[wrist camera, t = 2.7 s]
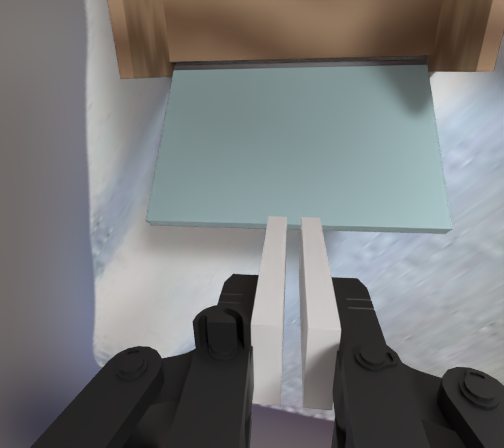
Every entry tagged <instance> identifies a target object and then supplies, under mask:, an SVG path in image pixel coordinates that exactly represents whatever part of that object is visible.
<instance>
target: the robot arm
mask: <svg viewBox="0 0 504 448" xmlns="http://www.w3.org/2000/svg"><path fill="white" fill-rule="evenodd" d="M286 234H287V217H279V216H269V217H268V223H267V229H266V235H265V241H264V247H263V253H262V259H261V265H260V271H259V275H243V274H233V275H232V276H231V277H230V278H228V279H227V280H226V281H225V282H224V285H223V288H222V291H221V294H220V298H219V302H218V304H217V305H215V306H212V307H209V308H206V309H204V310H203V311H201V312H200V313H199V314H197V316H196V317H195V319H194V320H193V329H194V337H195V346H196V348H195V349H194V350H192V351H190V352H188V353H185V354H181V355H178V356H172V357H167V358H162V359H161V356H160V355H159V353H158V352H157V351H156V350H154V349H152V348H150V347H143V346H137V347H133V348H128V349H126V350H124V351H122V352H120V353H118V354H116V355H115V356H114V357H113V358H112V359H110V360H109V361H108V362H107V363H106V364H105V366H104V367H103V368H102V369H101V370H100V371H99V372H98V373H97V374H96V376H95V377H94V378H93V379H92V380H91V381H90V382H89V383H88V384H87V385H86V387H85V388H84V389H83V390H82V391H81V392H80V393H79V394H78V395H77V396H76V398H75V399H74V400H73V401H72V402H71V403H70V404H69V405H68V406H67V408H66V409H65V410H64V411H63V412H62V413H61V414H60V415H59V416H58V417H57V419H56V420H55V421H54V422H53V423H52V424H51V425H50V426H49V427H48V429H47V430H46V431H45V432H44V433H43V434H42V435H41V436H40V437H39V438H38V440H37V441H36V442H35V443H34V444H33V445H32V446H31V447H30V448H250V437H251V424H252V419H251V408H252V400H253V403H254V404H265V405H277V406H281V387H282V358H283V330H284V301H285V272H286ZM299 294H300V326H301V359H302V391H303V408H312V409H324V410H332V405H333V402H334V410H335V422H334V430H333V439H332V447H331V448H504V385H502V384H501V383H500V382H499V381H498V380H497V379H495V378H493V377H491V376H489V375H487V374H486V373H484V372H481V371H478V370H475V369H472V368H466V367H456V368H452V369H449V370H447V372H446V373H445V374H444V375H443V377H442V378H440V377H436V376H433V375H430V374H427V373H424V372H421V371H418V370H415V369H413V368H410V367H409V366H407V365H405V364H404V363H402V362H401V360H400V358H399V356H398V355H397V353H396V352H395V351H393V350H392V349H391V348H390V347H389V346H387V345H386V342H385V339H384V336H383V333H382V330H381V328H380V325H379V322H378V319H377V316H376V313H375V310H374V307H373V304H372V301H371V298H370V295H369V292H368V290H367V288H366V287H365V286H364V285H363V284H362V283H361V282H360V281H359V280H358V279H357V278H334V277H331V273H330V267H329V262H328V257H327V251H326V246H325V241H324V235H323V230H322V225H321V219H320V218H319V217H301V237H300V259H299Z"/></svg>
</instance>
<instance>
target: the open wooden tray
mask: <svg viewBox="0 0 504 448" xmlns="http://www.w3.org/2000/svg"><path fill="white" fill-rule="evenodd" d="M108 6H109V12H110V18H111V24H112V30H113V36H114V42H115V48H116V54H117V60H118V66H119V72H120V78H121V79H132V78H154V77H173V72H174V70H175V65H174V62H199V61H239V60H279V59H319V58H359V57H399V56H427V58H426V65H427V66H428V71H441V72H485V71H494V67H495V63H496V59H497V55H498V51H499V48H500V44H501V40H502V36H503V32H504V0H108Z"/></svg>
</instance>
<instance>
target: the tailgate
mask: <svg viewBox="0 0 504 448" xmlns="http://www.w3.org/2000/svg"><path fill="white" fill-rule="evenodd" d="M269 216H279V217H287V229H297V230H301V217H319V218H320V219H321V225H322V230H331V231H365V232H400V233H434V234H446V233H447V232H449V231H450V230H452V223H451V217H450V210H449V204H448V197H447V191H446V184H445V178H444V171H443V164H442V158H441V151H440V145H439V138H438V132H437V125H436V119H435V112H434V105H433V99H432V92H431V86H430V79H429V73H428V66H427V65H426V60H425V59H424V60H382V61H340V62H298V63H256V64H214V65H176V66H175V70H174V72H173V77H172V82H171V88H170V93H169V99H168V104H167V109H166V115H165V120H164V125H163V131H162V136H161V142H160V147H159V152H158V158H157V163H156V168H155V174H154V179H153V185H152V190H151V195H150V201H149V206H148V211H147V217H146V221H147V222H148V223H149V224H150V225H160V226H194V227H228V228H263V229H267V223H268V217H269Z"/></svg>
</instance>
